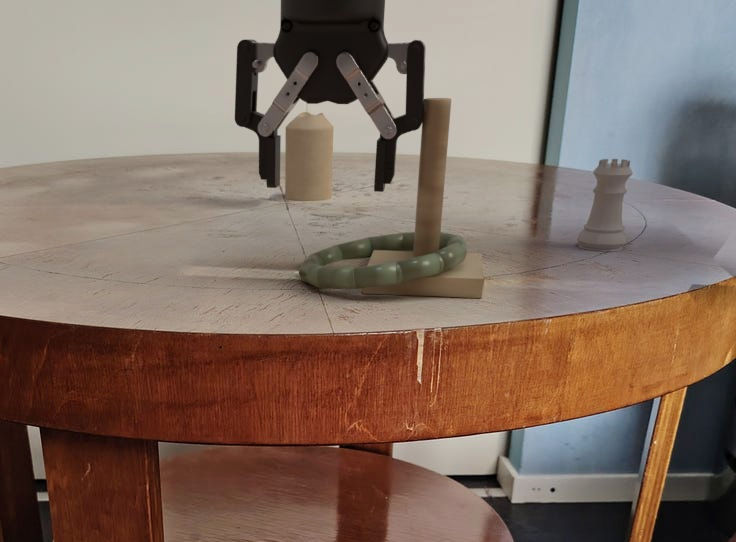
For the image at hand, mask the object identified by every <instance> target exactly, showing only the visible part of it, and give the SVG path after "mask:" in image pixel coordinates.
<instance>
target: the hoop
mask: <svg viewBox="0 0 736 542" xmlns="http://www.w3.org/2000/svg"><path fill="white" fill-rule="evenodd" d="M414 234H415V231H411V232H410V231H408V232H406V231H405V232H397V233H391V234H390V233H389V234H384V235H378V236H377V235H376V236H368V237H363V238H360V239H357V240H356V239H355V240H351V241H346V242H343V243H338V244H334V245H331V246H328V247H326V248H324V249H321V250H319V251H317V252H314V253H311V254H309V255H308V256H307V257H306V258H305V259H304V261H303V262H302V264H301V265H300V267H299V269H298V275H299V276H298V277H299V278H300V279H301V281H303V283H304V282H305V283H307V284H308V285H312V286H314V287H317V288H319V289H326V290H327V289H328V290H329V289H330V290H331V289H332V290H335V289H336V290H359V289H363V288H370V287H378V286H386V285H395V284H401V283H405V282H409V281H413V280H417V279H421V278H425V277H429V276H433V275H437V274H439V273H441V272H443V271H446V270H448V269H450V268H452V267H454V266H456V265H458V264H460V263H461V262H463V261H464V259H465V258H466V253H467V241H466V240H465V237H463V236H461V235H459V234H454V233H448V232H443V231H441V232H440V244H439V250H438V251H436V252H434V253H431V254H427V255H423V256H419V257H415V258H411V259H407V260H402V261H398V262H393V263H385V264H377V265H369V266H367V265H362V266H326V265H330V264H333V263H338V262H339V261H343V260H344V261H345V260H352V259H363V258H370V257H371V255H372V253H373V251H374V250H388V251H413V248H414Z"/></svg>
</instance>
